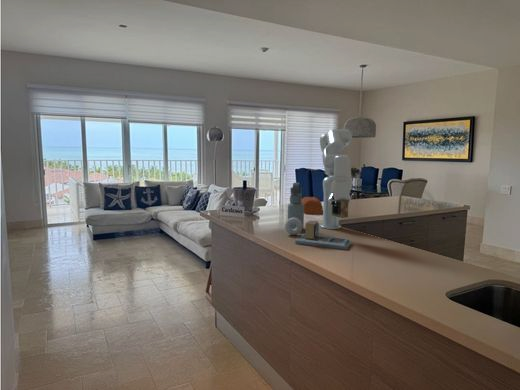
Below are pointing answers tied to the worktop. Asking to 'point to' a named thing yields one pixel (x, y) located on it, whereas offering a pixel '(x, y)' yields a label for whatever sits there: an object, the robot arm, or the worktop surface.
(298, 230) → the donut
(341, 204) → the tan wooden block
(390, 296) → the worktop surface
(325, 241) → the rail
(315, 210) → the bread
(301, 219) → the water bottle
